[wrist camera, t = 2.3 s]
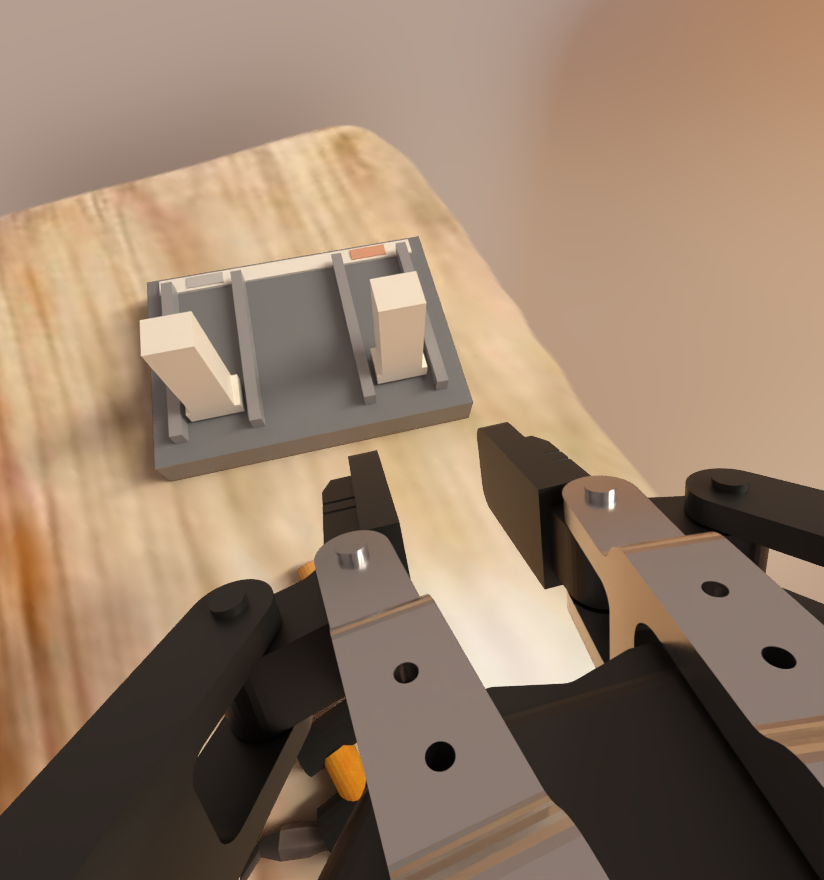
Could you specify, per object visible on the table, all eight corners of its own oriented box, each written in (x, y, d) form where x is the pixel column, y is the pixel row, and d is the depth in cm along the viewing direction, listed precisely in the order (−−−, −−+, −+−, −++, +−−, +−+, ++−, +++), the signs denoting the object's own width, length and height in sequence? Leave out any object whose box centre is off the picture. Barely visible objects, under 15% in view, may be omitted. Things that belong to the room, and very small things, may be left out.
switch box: (171, 481, 35) (146, 463, 32) (161, 303, 41) (139, 271, 38) (468, 417, 37) (475, 393, 34) (417, 258, 43) (419, 224, 40)
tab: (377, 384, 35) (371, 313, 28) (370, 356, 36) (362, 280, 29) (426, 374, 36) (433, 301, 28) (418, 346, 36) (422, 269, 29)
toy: (93, 712, 30) (345, 1415, 20) (54, 718, 27) (332, 1565, 17) (404, 510, 35) (728, 981, 25) (403, 494, 32) (777, 1029, 22)
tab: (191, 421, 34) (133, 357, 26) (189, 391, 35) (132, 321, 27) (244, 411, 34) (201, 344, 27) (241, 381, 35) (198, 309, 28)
